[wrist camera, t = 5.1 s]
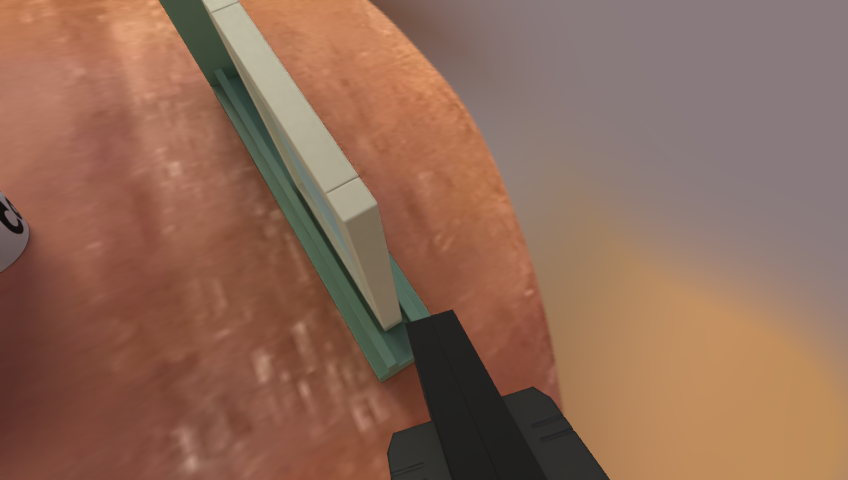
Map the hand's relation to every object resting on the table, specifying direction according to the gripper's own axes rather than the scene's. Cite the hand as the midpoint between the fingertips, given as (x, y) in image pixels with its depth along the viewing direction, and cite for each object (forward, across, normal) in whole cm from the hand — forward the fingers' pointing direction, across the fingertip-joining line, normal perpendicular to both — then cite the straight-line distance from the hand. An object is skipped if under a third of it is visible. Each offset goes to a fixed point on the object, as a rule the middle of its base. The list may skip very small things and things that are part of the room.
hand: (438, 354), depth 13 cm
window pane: (+15, -3, -1) cm, 15 cm away
